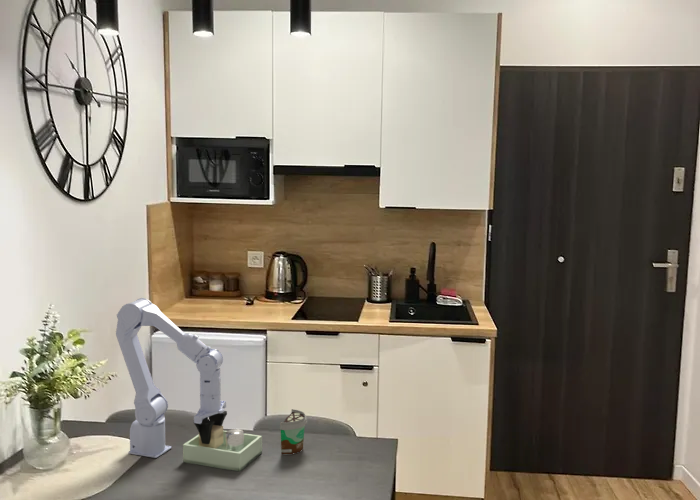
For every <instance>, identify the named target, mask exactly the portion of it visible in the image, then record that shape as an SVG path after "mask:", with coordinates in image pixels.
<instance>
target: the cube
mask: <svg viewBox="0 0 700 500" xmlns="http://www.w3.org/2000/svg"><path fill="white" fill-rule="evenodd" d="M223 430H224V426H223V425H222V426H218V425H213V426H212V430H211V438H210V443H209V444H203V443H202V441H201V438H200V434H199V433H198V434H199V446H202V447H209V448H215V449H216V448H217V447H219V446H220V445H222V444H223Z"/></svg>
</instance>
